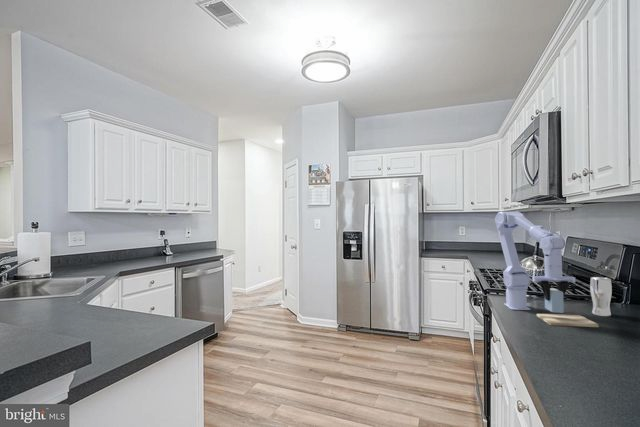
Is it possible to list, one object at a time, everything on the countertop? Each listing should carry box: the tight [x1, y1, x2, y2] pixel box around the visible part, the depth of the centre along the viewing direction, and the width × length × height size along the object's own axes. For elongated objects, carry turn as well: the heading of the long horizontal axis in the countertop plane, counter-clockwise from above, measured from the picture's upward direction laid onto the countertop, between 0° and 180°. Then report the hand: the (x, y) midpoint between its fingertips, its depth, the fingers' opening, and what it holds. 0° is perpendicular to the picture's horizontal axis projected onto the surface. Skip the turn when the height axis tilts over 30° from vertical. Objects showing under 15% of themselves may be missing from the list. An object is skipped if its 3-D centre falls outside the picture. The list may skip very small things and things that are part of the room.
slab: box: [544, 287, 565, 314], centre depth 132 cm, size 6×4×8 cm, turn 169°
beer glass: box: [589, 276, 613, 317], centre depth 139 cm, size 7×7×15 cm
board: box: [536, 313, 600, 328], centre depth 131 cm, size 12×16×1 cm
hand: (554, 300), depth 132 cm, fingers closed on slab, 4 cm apart
